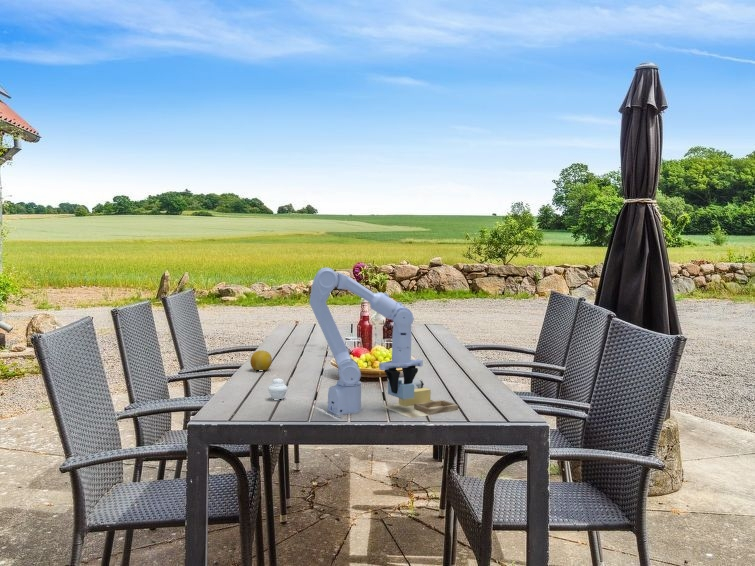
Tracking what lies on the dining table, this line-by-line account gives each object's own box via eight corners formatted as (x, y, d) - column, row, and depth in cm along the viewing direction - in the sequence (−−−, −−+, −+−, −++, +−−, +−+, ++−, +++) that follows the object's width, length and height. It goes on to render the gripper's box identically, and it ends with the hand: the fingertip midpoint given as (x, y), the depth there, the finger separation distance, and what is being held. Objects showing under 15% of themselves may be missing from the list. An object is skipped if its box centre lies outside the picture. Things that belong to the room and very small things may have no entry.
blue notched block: (414, 397, 186) (414, 384, 186) (403, 399, 184) (403, 385, 184) (398, 392, 193) (398, 379, 193) (387, 393, 191) (388, 380, 190)
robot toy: (430, 401, 207) (421, 388, 222) (430, 388, 206) (421, 375, 221) (393, 402, 205) (386, 388, 220) (393, 388, 205) (387, 376, 219)
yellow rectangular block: (404, 406, 192) (404, 393, 192) (398, 404, 195) (398, 391, 195) (430, 402, 198) (430, 389, 198) (424, 400, 200) (424, 387, 200)
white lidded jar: (266, 398, 206) (266, 376, 205) (284, 396, 208) (284, 375, 208) (270, 402, 200) (270, 380, 199) (289, 400, 202) (289, 379, 202)
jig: (411, 421, 179) (411, 412, 179) (381, 409, 192) (381, 401, 192) (459, 413, 189) (460, 404, 189) (428, 402, 202) (428, 394, 202)
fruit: (269, 373, 247) (269, 352, 246) (248, 372, 247) (248, 352, 246) (273, 368, 255) (273, 349, 255) (253, 368, 256) (253, 349, 255)
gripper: (388, 350, 180) (387, 397, 181) (429, 347, 188) (428, 392, 189) (375, 347, 186) (374, 392, 187) (415, 343, 194) (414, 387, 195)
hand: (400, 392), depth 188 cm, fingers closed on blue notched block, 4 cm apart
